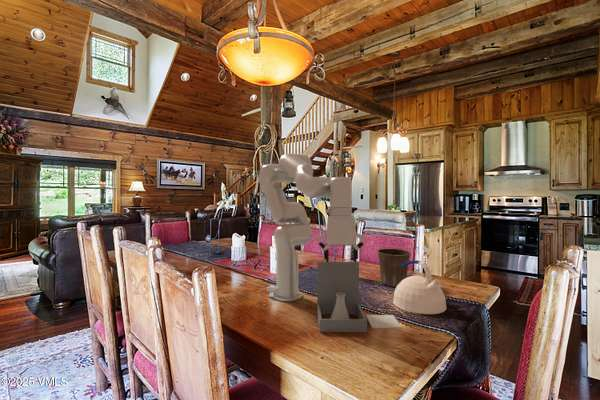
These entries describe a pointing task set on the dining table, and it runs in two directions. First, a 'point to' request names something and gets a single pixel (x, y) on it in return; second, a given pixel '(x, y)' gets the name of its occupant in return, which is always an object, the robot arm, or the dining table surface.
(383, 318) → the rubber mat
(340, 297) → the flask
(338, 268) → the case
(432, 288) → the kettle
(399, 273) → the plant pot
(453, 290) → the dining table surface
